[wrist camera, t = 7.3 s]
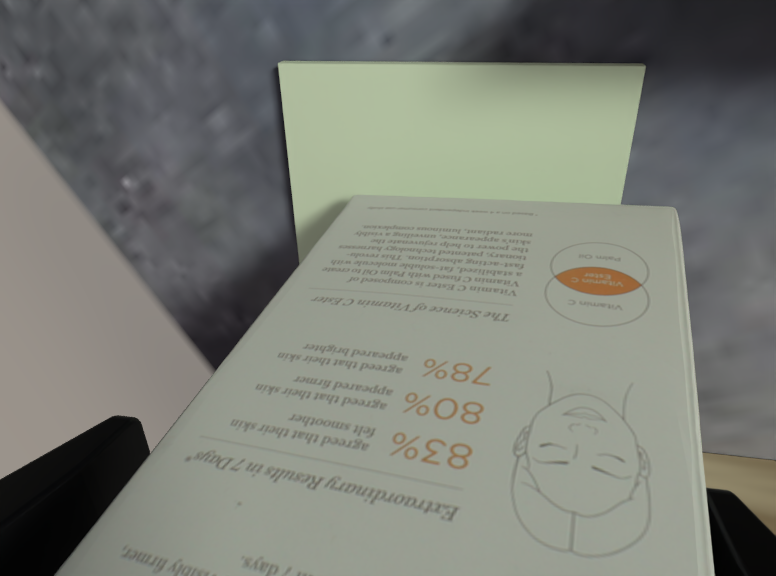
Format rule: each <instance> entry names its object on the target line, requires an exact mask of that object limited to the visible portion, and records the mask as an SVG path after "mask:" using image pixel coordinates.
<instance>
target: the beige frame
mask: <svg viewBox="0 0 776 576" xmlns="http://www.w3.org/2000/svg"><path fill="white" fill-rule="evenodd" d="M702 454H703V464H704V474H705V484H706V488H714V489H723V490H728V491H731V492H732V493H734V494H735V495H736V496H737V497H738V498H739V499H740V500H741V501H742V502H743V503H744V504H745V505H746V506H747V507H748V508H749V509H750V510H751V511H752V512H753V513H754V514H755V515H756V516H757V517H758V518H759V519H760V520H761V521H762V522H763V523H764V524H765V525H766V526H767V527H768V528H769V529H770V530H771V531H772V532H773V533H774V534H775V535H776V461H774V460H765V459H756V458H747V457H738V456H729V455H720V454H711V453H702Z"/></svg>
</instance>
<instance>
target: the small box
mask: <svg viewBox="0 0 776 576" xmlns="http://www.w3.org/2000/svg"><path fill="white" fill-rule="evenodd" d="M54 576H715V573H714V563H713V554H712V544H711V534H710V524H709V514H708V504H707V494H706V484H705V474H704V464H703V454H702V444H701V435H700V421H699V408H698V398H697V388H696V377H695V367H694V355H693V344H692V334H691V325H690V315H689V305H688V296H687V286H686V276H685V266H684V256H683V247H682V238H681V230H680V224H679V219H678V215H677V211H676V209H675V208H673V207H664V206H636V205H614V204H592V203H568V202H541V201H518V200H495V199H469V198H438V197H408V196H384V195H354V196H353V197H352V198H351V200H350V201H349V202H348V203H347V205H346V206H345V208H344V209H343V210H342V211H341V212H340V214H339V215H338V216H337V217H336V219H335V220H334V221H333V222H332V224H331V225H330V226H329V228H328V229H327V230H326V231H325V233H324V234H323V235H322V237H321V238H320V239H319V240H318V242H317V243H316V244H315V246H314V247H313V248H312V249H311V250H310V252H309V253H308V254H307V255H306V257H305V258H304V259H303V261H302V262H301V263H300V264H299V266H298V267H297V268H296V269H295V271H294V272H293V273H292V275H291V276H290V277H289V278H288V280H287V281H286V282H285V283H284V285H283V286H282V287H281V288H280V290H279V291H278V292H277V293H276V295H275V296H274V297H273V299H272V300H271V301H270V302H269V304H268V305H267V306H266V307H265V309H264V310H263V311H262V312H261V314H260V315H259V316H258V318H257V319H256V320H255V321H254V323H253V324H252V325H251V326H250V328H249V329H248V330H247V332H246V333H245V334H244V335H243V337H242V338H241V339H240V341H239V342H238V343H237V344H236V346H235V347H234V348H233V350H232V351H231V352H230V354H229V355H228V356H227V357H226V358H225V359H224V361H223V362H222V363H221V365H220V366H219V367H218V369H217V370H216V371H215V373H214V374H213V375H212V376H211V378H210V379H209V380H208V381H207V382H206V384H205V385H204V386H203V387H202V389H201V390H200V391H199V393H198V394H197V395H196V396H195V398H194V399H193V400H192V401H191V403H190V404H189V405H188V407H187V408H186V409H185V410H184V412H183V413H182V414H181V415H180V417H179V418H178V419H177V421H176V422H175V423H174V424H173V426H172V427H171V428H170V429H169V431H168V432H167V433H166V434H165V436H164V437H163V438H162V440H161V441H160V442H159V443H158V445H157V446H156V447H155V448H154V450H153V451H152V452H151V453H150V455H149V456H148V457H147V459H146V460H145V461H144V462H143V464H142V465H141V466H140V467H139V469H138V470H137V471H136V472H135V474H134V475H133V476H132V478H131V479H130V480H129V481H128V483H127V484H126V485H125V486H124V488H123V489H122V490H121V491H120V493H119V494H118V495H117V496H116V498H115V499H114V500H113V502H112V503H111V504H110V505H109V507H108V508H107V509H106V510H105V512H104V513H103V514H102V515H101V517H100V518H99V519H98V521H97V522H96V523H95V524H94V526H93V527H92V528H91V529H90V531H89V532H88V533H87V534H86V536H85V537H84V538H83V539H82V541H81V542H80V543H79V545H78V546H77V547H76V548H75V550H74V551H73V552H72V553H71V555H70V556H69V557H68V558H67V560H66V561H65V562H64V563H63V565H62V566H61V567H60V569H59V570H58V571H57V572H56V574H55V575H54Z"/></svg>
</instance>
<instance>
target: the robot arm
mask: <svg viewBox="0 0 776 576" xmlns="http://www.w3.org/2000/svg"><path fill="white" fill-rule="evenodd" d="M149 455H150V450H149V447H148V444H147V440H146V437H145V434H144V431H143V427H142V424H141V422H140V421H139V420H138V419H137V418H135V417H127V416H119V415H118V416H113V417H111V418H109V419H107V420H105V421H103V422H101V423H100V424H98V425H96V426H94V427H93V428H91V429H89V430H87V431H86V432H84V433H82V434H80V435H78V436H77V437H75V438H73V439H71V440H69V441H68V442H66V443H64V444H62V445H61V446H59V447H57V448H55V449H53V450H52V451H50V452H48V453H46V454H45V455H43V456H41V457H39V458H38V459H36V460H34V461H32V462H30V463H29V464H27V465H25V466H23V467H22V468H20V469H18V470H16V471H14V472H13V473H11V474H9V475H7V476H5V477H4V478H2V479H0V576H54V575H55V574H56V572H57V571H58V570H59V569H60V567H61V566H62V565H63V563H64V562H65V561H66V560H67V558H68V557H69V556H70V555H71V553H72V552H73V551H74V550H75V548H76V547H77V546H78V545H79V543H80V542H81V541H82V539H83V538H84V537H85V536H86V534H87V533H88V532H89V531H90V529H91V528H92V527H93V526H94V524H95V523H96V522H97V521H98V519H99V518H100V517H101V515H102V514H103V513H104V512H105V510H106V509H107V508H108V507H109V505H110V504H111V503H112V502H113V500H114V499H115V498H116V496H117V495H118V494H119V493H120V491H121V490H122V489H123V488H124V486H125V485H126V484H127V483H128V481H129V480H130V479H131V478H132V476H133V475H134V474H135V472H136V471H137V470H138V469H139V467H140V466H141V465H142V464H143V462H144V461H145V460H146V459H147V457H148V456H149ZM706 494H707V504H708V514H709V524H710V534H711V544H712V554H713V563H714V573H715V576H776V535H775V534H774V533H773V532H772V531H771V530H770V529H769V528H768V527H767V526H766V525H765V524H764V523H763V522H762V521H761V520H760V519H759V518H758V517H757V516H756V515H755V514H754V513H753V512H752V511H751V510H750V509H749V508H748V507H747V506H746V505H745V504H744V503H743V502H742V501H741V500H740V499H739V498H738V497H737V496H736V495H735V494H734V493H732V492H731V491H728V490H723V489H714V488H706Z"/></svg>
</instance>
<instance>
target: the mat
mask: <svg viewBox="0 0 776 576" xmlns="http://www.w3.org/2000/svg"><path fill="white" fill-rule="evenodd" d="M645 68H646V66H645V65H644V64H643V63H504V62H363V61H282V62H280V63H278V69H279V78H280V87H281V97H282V106H283V115H284V125H285V134H286V143H287V153H288V162H289V171H290V181H291V190H292V200H293V209H294V218H295V228H296V237H297V246H298V256H299V264H300V263H301V262H302V261H303V259H304V258H305V257H306V255H307V254H308V253H309V252H310V250H311V249H312V248H313V247H314V246H315V244H316V243H317V242H318V240H319V239H320V238H321V237H322V235H323V234H324V233H325V231H326V230H327V229H328V228H329V226H330V225H331V224H332V222H333V221H334V220H335V219H336V217H337V216H338V215H339V214H340V212H341V211H342V210H343V209H344V208H345V206H346V205H347V203H348V202H349V201H350V200H351V198H352V197H353V196H354V195H384V196H408V197H438V198H469V199H495V200H518V201H541V202H568V203H592V204H614V205H620V204H621V199H622V193H623V188H624V182H625V177H626V172H627V166H628V161H629V155H630V150H631V144H632V139H633V134H634V128H635V123H636V117H637V112H638V106H639V101H640V96H641V90H642V85H643V79H644V74H645Z"/></svg>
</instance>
